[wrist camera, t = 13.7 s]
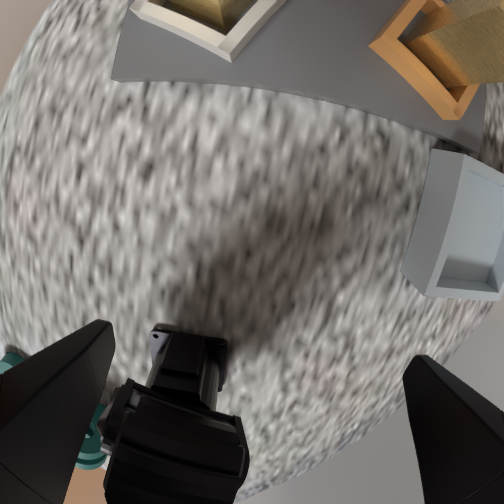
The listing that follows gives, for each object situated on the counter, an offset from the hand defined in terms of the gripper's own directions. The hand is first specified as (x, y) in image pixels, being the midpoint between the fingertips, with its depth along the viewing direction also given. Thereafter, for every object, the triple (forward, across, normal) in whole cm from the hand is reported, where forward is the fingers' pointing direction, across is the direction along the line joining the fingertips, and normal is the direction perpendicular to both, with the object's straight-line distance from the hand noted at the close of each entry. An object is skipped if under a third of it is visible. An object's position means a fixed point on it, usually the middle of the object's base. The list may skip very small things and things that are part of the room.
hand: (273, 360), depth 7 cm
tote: (+13, -17, -3) cm, 21 cm away
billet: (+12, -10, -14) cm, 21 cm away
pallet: (+14, -3, -14) cm, 20 cm away
